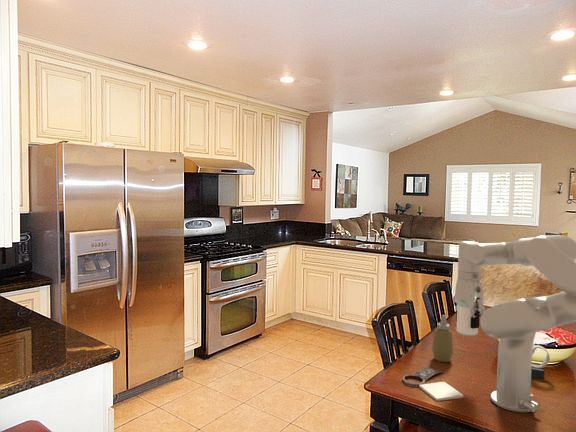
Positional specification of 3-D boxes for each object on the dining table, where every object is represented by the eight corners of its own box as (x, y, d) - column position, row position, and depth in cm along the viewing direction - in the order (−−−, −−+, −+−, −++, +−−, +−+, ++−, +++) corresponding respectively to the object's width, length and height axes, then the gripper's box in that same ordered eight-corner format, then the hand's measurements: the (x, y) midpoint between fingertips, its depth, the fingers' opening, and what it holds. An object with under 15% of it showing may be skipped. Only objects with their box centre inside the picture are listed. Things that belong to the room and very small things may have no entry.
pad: (463, 397, 138) (463, 395, 138) (436, 401, 135) (437, 398, 135) (444, 383, 148) (444, 381, 148) (419, 387, 145) (419, 384, 145)
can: (481, 334, 151) (482, 301, 151) (470, 338, 148) (471, 304, 147) (463, 329, 157) (465, 297, 157) (452, 332, 153) (453, 299, 153)
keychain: (446, 375, 156) (446, 370, 156) (417, 390, 143) (417, 384, 143) (427, 368, 162) (427, 363, 162) (397, 382, 149) (397, 377, 149)
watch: (522, 370, 160) (523, 341, 160) (547, 374, 157) (548, 345, 157) (524, 376, 155) (525, 346, 155) (549, 380, 152) (551, 350, 151)
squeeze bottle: (454, 364, 165) (456, 319, 164) (433, 362, 166) (434, 317, 165) (451, 356, 173) (452, 313, 172) (430, 354, 174) (431, 311, 173)
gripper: (495, 280, 144) (493, 331, 145) (461, 271, 161) (460, 317, 162) (477, 281, 142) (475, 333, 143) (444, 271, 159) (443, 318, 160)
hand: (467, 324), depth 152 cm, fingers closed on can, 7 cm apart
